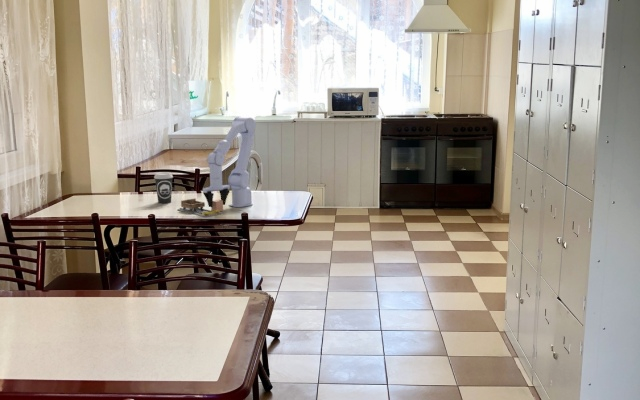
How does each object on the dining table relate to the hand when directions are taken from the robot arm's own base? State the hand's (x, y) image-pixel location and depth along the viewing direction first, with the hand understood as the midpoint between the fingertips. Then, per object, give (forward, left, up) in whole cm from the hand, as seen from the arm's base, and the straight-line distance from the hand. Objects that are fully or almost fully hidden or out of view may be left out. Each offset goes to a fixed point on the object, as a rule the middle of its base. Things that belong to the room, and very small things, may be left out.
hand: (216, 205), depth 328 cm
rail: (+8, -4, -2) cm, 9 cm away
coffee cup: (+5, -38, -3) cm, 38 cm away
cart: (+8, -9, -2) cm, 12 cm away
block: (0, 0, -3) cm, 3 cm away
